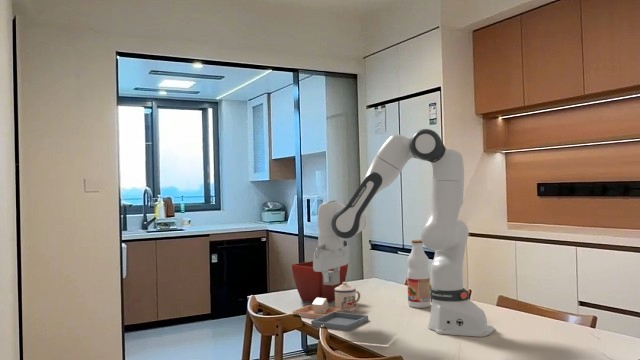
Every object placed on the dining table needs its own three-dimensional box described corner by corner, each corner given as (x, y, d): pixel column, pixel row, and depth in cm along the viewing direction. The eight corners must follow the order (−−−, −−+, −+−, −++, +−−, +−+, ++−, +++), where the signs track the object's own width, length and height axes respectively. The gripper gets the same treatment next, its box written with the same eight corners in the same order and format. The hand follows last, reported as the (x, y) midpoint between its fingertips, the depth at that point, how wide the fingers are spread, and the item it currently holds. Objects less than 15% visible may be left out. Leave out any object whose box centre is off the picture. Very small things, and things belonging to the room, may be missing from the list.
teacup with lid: (342, 313, 212) (341, 285, 212) (330, 309, 220) (329, 281, 220) (366, 309, 218) (365, 281, 218) (354, 305, 225) (353, 278, 226)
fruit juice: (430, 308, 216) (428, 241, 217) (407, 308, 218) (405, 241, 219) (430, 303, 225) (428, 238, 226) (408, 303, 227) (406, 239, 228)
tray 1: (341, 314, 210) (341, 308, 210) (325, 321, 200) (325, 315, 200) (309, 310, 218) (309, 305, 218) (292, 317, 208) (292, 311, 208)
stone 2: (339, 283, 197) (339, 271, 197) (332, 285, 194) (331, 273, 194) (330, 282, 200) (330, 270, 200) (323, 284, 196) (322, 272, 197)
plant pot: (350, 299, 238) (349, 262, 238) (321, 307, 224) (320, 268, 224) (320, 294, 251) (319, 259, 251) (291, 301, 237) (290, 264, 238)
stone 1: (324, 314, 209) (322, 304, 207) (314, 313, 211) (312, 304, 209) (328, 307, 213) (326, 298, 211) (318, 306, 215) (316, 297, 213)
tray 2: (368, 321, 198) (368, 315, 198) (347, 332, 184) (347, 325, 184) (333, 317, 206) (333, 311, 206) (311, 327, 192) (311, 320, 192)
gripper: (322, 246, 187) (324, 285, 186) (350, 241, 204) (351, 276, 204) (308, 246, 190) (309, 284, 190) (336, 241, 207) (337, 275, 207)
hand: (331, 280), depth 197 cm, fingers closed on stone 2, 5 cm apart
